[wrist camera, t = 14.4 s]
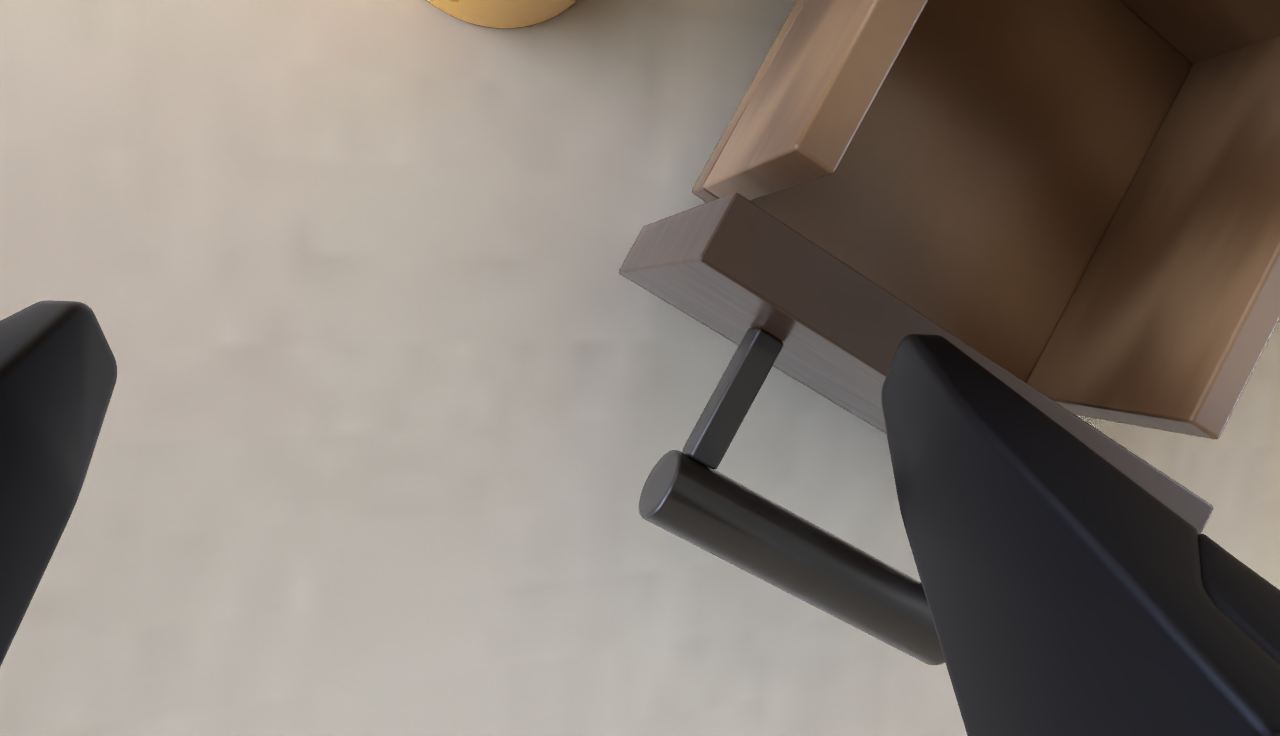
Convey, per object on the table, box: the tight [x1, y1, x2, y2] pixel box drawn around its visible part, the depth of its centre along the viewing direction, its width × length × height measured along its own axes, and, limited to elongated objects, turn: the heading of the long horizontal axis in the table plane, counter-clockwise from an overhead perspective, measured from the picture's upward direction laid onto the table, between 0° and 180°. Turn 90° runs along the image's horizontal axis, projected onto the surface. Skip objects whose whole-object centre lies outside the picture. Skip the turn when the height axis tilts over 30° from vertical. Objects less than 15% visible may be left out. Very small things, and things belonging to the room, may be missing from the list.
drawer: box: [619, 0, 1280, 665], centre depth 16 cm, size 16×11×6 cm
